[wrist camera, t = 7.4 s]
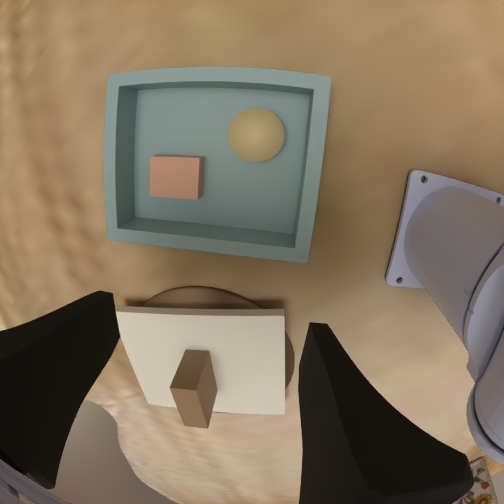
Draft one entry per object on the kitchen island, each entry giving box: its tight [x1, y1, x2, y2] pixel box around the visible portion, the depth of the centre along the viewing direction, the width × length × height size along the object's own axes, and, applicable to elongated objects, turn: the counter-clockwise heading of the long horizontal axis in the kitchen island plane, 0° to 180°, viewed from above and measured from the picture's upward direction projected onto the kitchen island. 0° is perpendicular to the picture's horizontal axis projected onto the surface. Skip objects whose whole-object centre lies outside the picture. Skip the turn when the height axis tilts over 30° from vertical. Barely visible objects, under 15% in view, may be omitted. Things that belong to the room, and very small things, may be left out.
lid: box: [115, 306, 285, 428], centre depth 21 cm, size 13×11×6 cm
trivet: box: [142, 286, 294, 413], centre depth 24 cm, size 14×14×1 cm
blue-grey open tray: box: [104, 67, 331, 264], centre depth 16 cm, size 12×10×3 cm
